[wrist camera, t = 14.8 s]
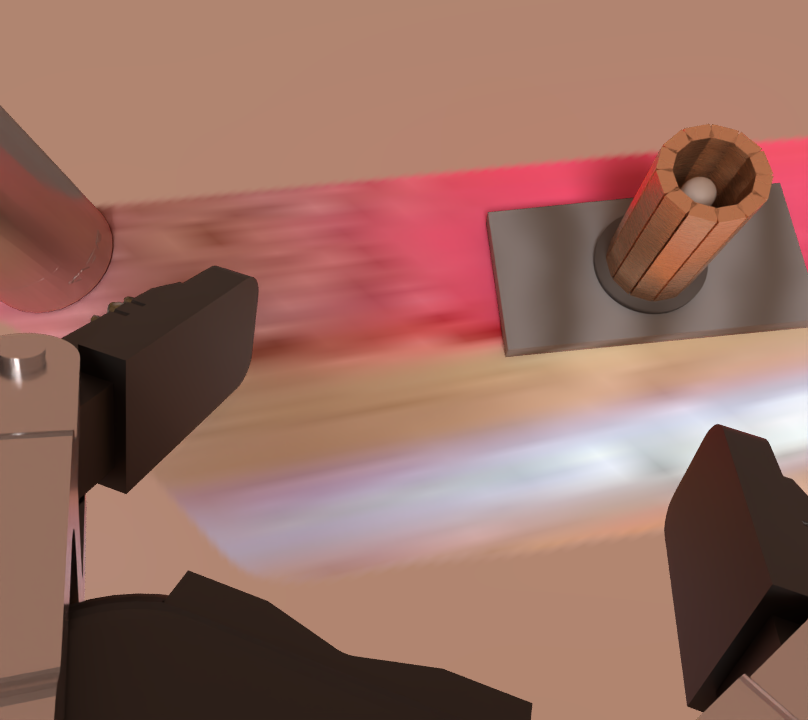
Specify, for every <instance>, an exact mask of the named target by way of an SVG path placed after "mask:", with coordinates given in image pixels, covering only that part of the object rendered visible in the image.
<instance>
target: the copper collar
mask: <svg viewBox="0 0 808 720" xmlns="http://www.w3.org/2000/svg"><path fill="white" fill-rule="evenodd" d="M738 132H739V131H737V130H733V129H730V128H726V127H722V126H718V125H713V124H712V125H711V126H710V124H707V125H701V126H696V127H690V128H685V129H683V130H681V131H679V132H678V133H677V134H676V135H674V136H673V137H672V138H671V139H670V140H668V141H667V142H666V143H665V144H663V146H662V148H661V149H660V151H659V153H658V155H657V157H656V159H655V160H654V162H653V164H652V166H651V168H650V170H649V171H648V173H647V175H646V177H645V179H644V181H643V182H642V184H641V186H640V188H639V190H638V191H637V193H636V195H635V197H634V199H633V201H632V202H631V204H630V206H629V208H628V210H627V212H626V213H625V215H624V217H623V219H622V221H621V223H620V224H619V226H618V228H617V230H616V232H615V234H614V235H613V237H612V239H611V242H610V245H609V249H608V252H607V255H606V261H607V264H608V268H609V271H610V274H611V277H612V278H613V280H614V281H615V282H616V283H617V284H618V285H619V286H620V287H621V288H622V289H623V290H624V291H625V292H626V293H627V294H629V293H630V292H631V294H630V295H631V296H634V297H638V298H641V299H644V300H648V301H652V300H653V302H654V301H660V300H665V299H670V298H674V297H676V296H678V295H679V294H680V293H681V292H682V291H683V290H684V289H686V288H687V287H688V286H689V285H690V284H691V283H692V282H693V281H694V280H695V279H696V278H697V277H698V275H699V274H700V273H701V272H702V271H703V270H704V269H705V268H706V267H707V266H708V264H709V263H710V262H711V261H712V260H713V259H714V258H715V257H716V256H717V255H718V254H719V252H720V251H721V250H722V249H723V248H724V247H725V246H726V245H727V244H728V243H729V242H730V240H731V239H732V238H733V237H734V236H735V235H736V234H737V233H738V232H739V231H740V229H741V228H742V227H743V226H744V225H745V224H746V223H747V222H748V221H749V220H750V219H751V217H752V216H753V215H754V214H755V213H756V212H757V211H758V210H759V209H760V208H761V207H762V205H763V204H764V203H765V202H766V201H767V199H768V197H769V193H770V188H771V184H772V179H773V176H772V174H773V172H772V170H771V167H770V165H769V163H768V160H767V158H766V155H765V153H764V151H761V150H762V148H760V147H759V146H758V145H757V144H755V143H754V142H753V141H752V140H750V139H749V138H748V137H747V136H745V135H744V134H743V133H742V132H741V133H740V134H738ZM695 177H705V178H708V179H710V180H711V181H712V182H713V183H714V185H715V187H716V191H717V193H716V198H715V200H714V202H713V203H712V205H711V206H707V205H704V204H700V203H696V202H694V201H693V200H692V199H691V198H690V197H689V196H687V195H686V194H685V193H684V192H683V191H682V190H681V188H682V187H683V185H684V184H685V183H686V182H687V181H688V180H690V179H692V178H695Z"/></svg>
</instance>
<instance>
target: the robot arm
mask: <svg viewBox="0 0 808 720" xmlns="http://www.w3.org/2000/svg"><path fill="white" fill-rule="evenodd" d="M112 248H113V245H112V234H111V231H110V227H109V224H108V223H107V221H106V220H105V218H104V216H103V215H102V214H101V213H100V212H99V211H98V209H97V208H96V207H95V206H94V205H93V204H92V203H91V202H90V201H89V200H88V199H87V198H86V197H85V196H84V195H83V194H82V193H81V191H80V190H79V189H78V188H77V187H76V186H75V185H74V184H73V183H72V181H71V180H70V179H69V178H68V177H67V176H66V175H65V174H64V173H63V172H62V171H61V170H60V169H59V167H58V166H57V165H56V164H55V163H54V162H53V161H52V160H51V159H50V158H49V157H48V156H47V155H46V154H45V153H44V151H42V149H41V148H40V147H39V146H38V145H37V144H36V143H35V142H34V141H33V140H32V139H31V138H30V137H29V136H28V134H27V133H26V132H25V131H24V130H23V129H22V128H21V127H20V126H19V125H18V124H17V123H16V122H15V121H14V120H13V118H12V117H11V116H10V115H9V114H8V113H7V112H6V111H5V110H4V109H3V108H2V107H1V106H0V301H2V302H3V303H5V304H7V305H8V306H10V307H12V308H15V309H18V310H21V311H25V312H33V313H41V312H50V311H54V310H58V309H62V308H64V307H66V306H68V305H71V304H73V303H75V302H77V301H78V300H79V299H81V298H82V297H84V296H85V295H86V294H88V293H89V292H90V291H91V290H92V289H93V288H94V287H95V286H96V285H97V284H98V282H99V281H100V279H101V278H102V276H103V275H104V273H105V271H106V269H107V267H108V264H109V262H110V259H111V254H112ZM257 302H258V283H257V280H256V279H255V278H254V277H251V276H247V275H244V274H241V273H238V272H235V271H231V270H228V269H225V268H222V267H219V266H212V267H210V268H208V269H206V270H205V271H203V272H201V273H200V274H198V275H196V276H194V277H193V278H191V279H189V280H187V281H186V282H184V283H181V282H178V283H174V284H169V285H165V286H160V287H156V288H152V289H150V290H148V291H146V292H144V293H143V294H141V295H139V296H137V297H135V298H134V299H132V300H131V303H130V302H126V303H124V304H123V305H121V306H119V307H117V308H115V311H114V312H111V311H110V312H108V313H106V314H105V315H103V316H101V317H99V318H97V319H96V320H94V321H92V322H90V323H88V324H86V325H85V326H83V327H81V328H79V329H77V330H76V331H74V332H72V333H70V334H68V335H67V336H65V337H63V338H57V337H54V336H50V335H44V334H36V333H17V334H8V335H2V336H0V720H531V710H532V703H530V702H527V701H525V700H522V699H520V698H517V697H515V696H512V695H509V694H507V693H504V692H502V691H499V690H496V689H494V688H491V687H489V686H486V685H483V684H481V683H478V682H476V681H473V680H471V679H468V678H465V677H463V676H460V675H458V674H455V673H452V672H450V671H447V670H445V669H440V668H434V667H426V666H419V665H413V664H405V663H398V662H391V661H384V660H377V659H369V658H363V657H356V656H351V655H348V654H345V653H342V652H341V651H339V650H337V649H336V648H334V647H333V646H332V645H330V644H329V643H327V642H326V641H324V640H323V639H321V638H320V637H319V636H317V635H316V634H314V633H313V632H311V631H310V630H309V629H307V628H306V627H304V626H303V625H301V624H300V623H298V622H297V621H296V620H294V619H293V618H291V617H290V616H288V615H287V614H286V613H284V612H283V611H281V610H280V609H278V608H277V607H275V606H274V605H273V604H271V603H269V602H268V601H266V600H263V599H260V598H258V597H255V596H253V595H250V594H248V593H245V592H243V591H240V590H237V589H235V588H232V587H230V586H227V585H225V584H222V583H219V582H217V581H214V580H212V579H209V578H206V577H204V576H201V575H198V574H196V573H193V572H191V571H187V573H186V574H185V575H184V577H183V578H182V579H181V580H180V582H179V583H178V584H177V586H176V587H175V588H174V589H173V591H172V592H171V593H170V595H162V594H126V595H112V596H106V597H100V598H95V599H90V600H86V601H84V592H85V546H86V545H85V543H86V493H87V492H88V491H89V490H90V489H91V488H92V487H94V485H96V484H97V483H98V484H101V485H103V486H106V487H108V488H111V489H114V490H117V491H120V492H122V493H125V494H127V493H128V492H129V491H130V490H131V489H132V488H133V487H134V486H135V485H136V484H137V483H138V482H139V481H140V480H141V479H143V478H144V477H145V476H146V475H147V474H148V473H149V472H150V471H151V470H152V469H153V468H154V467H155V466H156V465H157V464H158V463H159V462H160V461H161V460H162V459H163V458H165V457H166V456H167V455H168V454H169V453H170V452H171V451H172V450H173V449H174V448H175V447H176V446H177V445H178V444H179V443H180V442H181V441H182V440H183V439H184V438H185V437H186V436H187V435H189V434H190V433H191V432H192V431H193V430H194V429H195V428H196V427H197V426H198V425H199V424H200V423H201V422H202V421H203V420H204V419H205V418H206V417H207V416H208V415H209V414H210V413H212V412H213V411H214V410H215V409H216V408H217V407H218V406H219V405H220V404H221V403H222V402H223V401H224V400H225V399H226V398H227V397H228V396H229V395H230V394H231V393H232V392H233V391H234V390H236V389H237V388H238V386H239V385H240V384H241V382H242V381H243V379H244V377H245V375H246V373H247V371H248V368H249V365H250V361H251V357H252V348H253V339H254V330H255V320H256V311H257ZM664 532H665V541H666V548H667V556H668V563H669V571H670V579H671V587H672V594H673V601H674V610H675V617H676V625H677V632H678V639H679V647H680V654H681V663H682V670H683V678H684V685H685V693H686V701H687V706H688V707H691V708H693V709H696V710H699V711H701V712H703V713H702V714H701V715H700V716H699V717H698V718H697V719H696V720H808V495H807V494H806V493H805V492H804V491H803V490H802V489H801V488H800V487H799V486H798V485H797V484H796V483H795V481H794V480H793V479H790V478H787V477H784V476H783V475H782V472H781V470H780V468H779V465H778V463H777V460H776V458H775V456H774V453H773V451H772V449H771V446H770V444H769V442H768V441H767V440H766V439H764V438H761V437H758V436H755V435H752V434H748V433H745V432H742V431H739V430H736V429H732V428H729V427H726V426H723V425H720V424H716V425H714V426H713V427H712V428H711V429H710V430H709V431H708V433H707V434H706V436H705V437H704V439H703V441H702V443H701V445H700V447H699V449H698V450H697V452H696V454H695V456H694V458H693V460H692V462H691V463H690V465H689V467H688V469H687V471H686V473H685V475H684V476H683V478H682V480H681V482H680V484H679V486H678V488H677V489H676V491H675V493H674V495H673V497H672V499H671V502H670V504H669V507H668V511H667V515H666V519H665V528H664Z"/></svg>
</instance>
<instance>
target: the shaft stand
mask: <svg viewBox="0 0 808 720" xmlns="http://www.w3.org/2000/svg"><path fill="white" fill-rule="evenodd" d="M681 190H682V191H683V192H684V193H685V194H686V195H687V196H689V197H690V198H691V199H692V200H693V201H694V202H696V203H700V204H704V205H707V206H711V205H712V203H713V202H714V200H715V198H716V193H717V191H716V187H715V185H714V183H713V182H712V181H711V180H710V179H708V178H705V177H695V178H692V179H690V180H688V181H687V182H686V183H685V184H684V185H683V187H682V188H681ZM633 199H634V198H626V199H616V200H606V201H596V202H586V203H576V204H566V205H556V206H546V207H536V208H527V209H517V210H507V211H497V212H488V216H487V222H486V225H487V232H488V239H489V246H490V253H491V259H492V266H493V273H494V280H495V287H496V294H497V301H498V308H499V315H500V322H501V329H502V335H503V342H504V349H505V356H506V357H510V356H520V355H530V354H541V353H551V352H561V351H571V350H581V349H592V348H602V347H612V346H622V345H632V344H643V343H653V342H663V341H673V340H683V339H694V338H704V337H714V336H724V335H734V334H745V333H755V332H765V331H775V330H785V329H796V328H806V327H808V272H807V269H806V266H805V263H804V259H803V256H802V253H801V250H800V246H799V243H798V240H797V237H796V233H795V230H794V227H793V224H792V220H791V217H790V214H789V211H788V207H787V204H786V201H785V198H784V194H783V191H782V188H781V185H780V183H774V184H771V188H770V193H769V197H768V199H767V201H766V202H765V203H764V204H763V205H762V207H761V208H760V209H759V210H758V211H757V212H756V213H755V214H754V215H753V216H752V217H751V219H750V220H749V221H748V222H747V223H746V224H745V225H744V226H743V227H742V228H741V229H740V231H739V232H738V233H737V234H736V235H735V236H734V237H733V238H732V239H731V240H730V242H729V243H728V244H727V245H726V246H725V247H724V248H723V249H722V250H721V251H720V252H719V254H718V255H717V256H716V257H715V258H714V259H713V260H712V261H711V262H710V263H709V264H708V266H707V267H706V268H705V269H704V270H703V271H702V272H701V273H700V274H699V275H698V277H697V278H696V279H695V280H694V281H693V282H692V283H691V284H690V285H689V286H688V287H687V288H686V289H684V290H683V291H682V292H681V293H680V294H679V295H678V296H676V297H674V298H670V299H665V300H660V301H654V302H653V300H652V301H648V300H644V299H641V298H638V297H634V296H631V295H630V294H631V292H630V293H629V294H627V293H626V292H625V291H624V290H623V289H622V288H621V287H620V286H619V285H618V284H617V283H616V282H615V281H614V280H613V278H612V277H611V274H610V271H609V268H608V264H607V261H606V255H607V252H608V249H609V245H610V242H611V239H612V237H613V235H614V234H615V232H616V230H617V228H618V226H619V224H620V223H621V221H622V219H623V217H624V215H625V213H626V212H627V210H628V208H629V206H630V204H631V202H632V201H633Z"/></svg>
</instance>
